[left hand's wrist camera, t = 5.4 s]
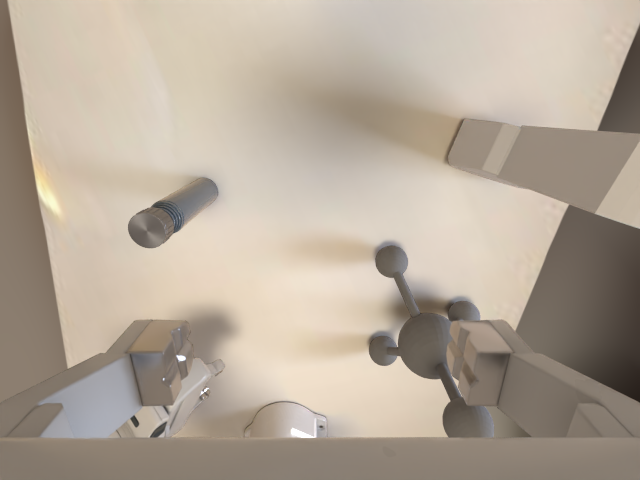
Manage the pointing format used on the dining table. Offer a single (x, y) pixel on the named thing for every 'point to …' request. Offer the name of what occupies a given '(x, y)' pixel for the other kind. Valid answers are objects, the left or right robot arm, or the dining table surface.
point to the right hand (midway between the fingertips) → (214, 378)
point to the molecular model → (430, 349)
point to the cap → (151, 227)
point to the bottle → (188, 201)
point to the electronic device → (557, 164)
